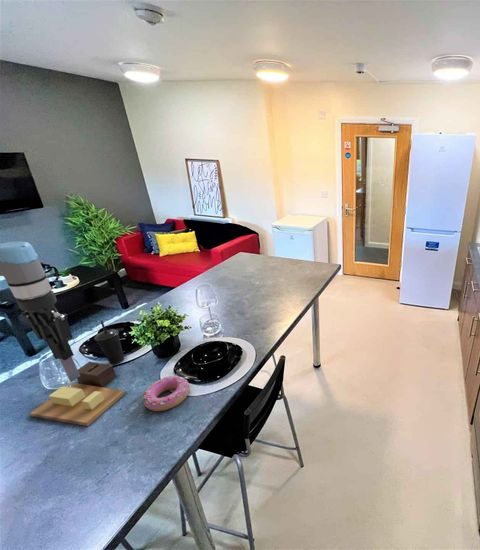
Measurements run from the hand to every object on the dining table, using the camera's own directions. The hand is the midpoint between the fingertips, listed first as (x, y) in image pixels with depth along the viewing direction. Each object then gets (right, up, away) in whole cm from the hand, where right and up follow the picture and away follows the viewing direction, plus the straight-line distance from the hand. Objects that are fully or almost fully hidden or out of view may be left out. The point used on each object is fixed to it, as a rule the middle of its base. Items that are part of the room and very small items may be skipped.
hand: (64, 356), depth 95 cm
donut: (+25, -19, +13) cm, 34 cm away
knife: (-1, -9, +4) cm, 10 cm away
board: (-4, -20, +9) cm, 22 cm away
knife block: (-7, -15, +20) cm, 25 cm away
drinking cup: (-9, -10, +30) cm, 33 cm away
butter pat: (+3, -19, +8) cm, 21 cm away
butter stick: (-8, -18, +9) cm, 21 cm away
